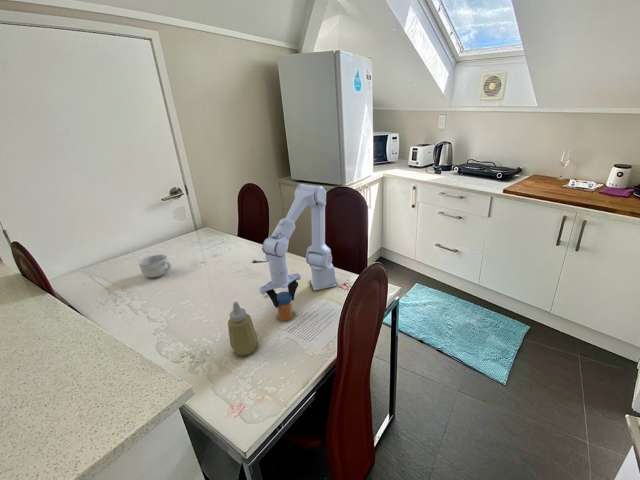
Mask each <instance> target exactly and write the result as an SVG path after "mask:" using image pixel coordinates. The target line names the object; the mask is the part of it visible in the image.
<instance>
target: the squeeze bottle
mask: <svg viewBox="0 0 640 480" xmlns="http://www.w3.org/2000/svg"><path fill="white" fill-rule="evenodd" d="M228 315H229V319H228V321H227V328H228V338H229V345H230V347H231V349H232V350H233V351H234V352H235V353H236V355H238V356H248V355H249V354H252V353H253V352H254V351H255V349H256V346H257V341H258V334H257V331H256V329H255V325H254V322H253V320H252V317H251V315H250V314H249V313H247V310H246V309H245V308H242V307H241V306H240V304H239V302H238V301H233V303H232V311H230V313H229V314H228Z"/></svg>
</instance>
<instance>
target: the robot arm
mask: <svg viewBox="0 0 640 480" xmlns="http://www.w3.org/2000/svg"><path fill="white" fill-rule="evenodd" d="M326 206H327V190H326V189H325V187H324V186H322V185H313V184H304V183H299V184H298V185H297V186H296V189H295V191H294V200H293V202H292V204H291V206H290V208H289V210H288V212H287V214H286V216H285V217H284V218H281V219H280V220H279V222H278V223H277V225H276V227H275V229H274V230H273V231H272V234H271V235H270V236H269V237H267V238H265V239H264V241H263V243H262V247H261V251H262V252H263V254H265V257H266V259H267V262H268V268H269V274H270V281H269V282H267V283H266V284H264V285H263V286H260V287H259V293H260V294H261V295H262V296H263V295H266V294H267V296H268V298H269V299H270V301H271V302H272V304H273V306H274V308H275V309H277V308H278V303H277V294H278V293H277V292H276V291H275V290H276V289H286V288H287V292H290V293H291V296H292V301H291V302H293V301H295V295H296V291H297V289H298V287H299V282H298V281H300V280H301V279H302V278H301V274H300V273H298V272H295V273H292V274H289V271H288V266H287V265H288V264H287V258H286V253H287V252H288V250H289V244H290V239H291V237H292V235H293V234H294V232H295V230H296V228H297V227H296V221H297V220H298V219H299V217H300V216H301V214H302V213H303V211H304V210H305V208H306V207H310V209H311V211H310V213H311V245H309V246H308V247H307V248H306V255H305V261H306V264H308V265H309V267H310V270H311V271H310V272H311V280H310V284H311V286H312V289H313V291H319V290H324V289H328V288H334V287H336V286H337V284H336V271H335V266H334V265H333V263H332V262H333V256H332V249H331V248H330V247H329V246H327V244H326Z"/></svg>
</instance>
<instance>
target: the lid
mask: <svg viewBox="0 0 640 480" xmlns="http://www.w3.org/2000/svg"><path fill="white" fill-rule="evenodd" d="M290 302H291V303H292V302H293V301H292V296H291V293H290V292H288V291H280V292H278V293H277V303H278V305H286V304H289V303H290Z"/></svg>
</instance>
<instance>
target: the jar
mask: <svg viewBox="0 0 640 480" xmlns="http://www.w3.org/2000/svg"><path fill="white" fill-rule="evenodd" d="M276 309H277V314H278V319H279V320H280V321H284V322H285V321H289V320H291V319H293V316H294V313H293V307H292V301H291V302H290V303H289V304H286V305H278V308H276Z"/></svg>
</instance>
